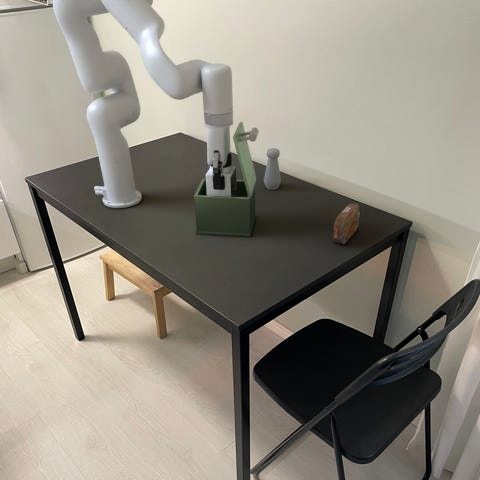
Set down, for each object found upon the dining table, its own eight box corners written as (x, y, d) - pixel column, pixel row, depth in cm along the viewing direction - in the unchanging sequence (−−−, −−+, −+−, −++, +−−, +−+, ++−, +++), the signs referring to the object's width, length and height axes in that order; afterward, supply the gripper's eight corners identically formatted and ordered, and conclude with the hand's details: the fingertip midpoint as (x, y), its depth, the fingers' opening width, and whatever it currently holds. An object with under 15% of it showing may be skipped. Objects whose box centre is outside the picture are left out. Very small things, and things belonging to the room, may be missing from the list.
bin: (196, 234, 141) (193, 196, 133) (205, 214, 150) (202, 178, 143) (250, 237, 139) (249, 198, 132) (255, 217, 148) (255, 180, 141)
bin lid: (232, 137, 122) (252, 133, 120) (239, 122, 131) (258, 117, 130) (248, 197, 131) (267, 193, 130) (253, 179, 141) (271, 175, 139)
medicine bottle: (231, 200, 135) (230, 158, 128) (206, 198, 136) (204, 156, 129) (236, 189, 141) (235, 148, 133) (213, 188, 142) (210, 147, 134)
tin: (340, 249, 133) (343, 221, 127) (329, 246, 134) (332, 218, 129) (360, 226, 143) (364, 199, 137) (350, 223, 144) (353, 197, 139)
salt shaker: (261, 189, 164) (261, 151, 156) (266, 182, 168) (267, 145, 160) (277, 191, 162) (278, 153, 154) (282, 185, 166) (284, 147, 158)
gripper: (210, 108, 132) (214, 170, 144) (197, 128, 119) (202, 196, 130) (237, 108, 131) (239, 171, 143) (227, 129, 118) (229, 197, 129)
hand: (221, 182), depth 136 cm, fingers closed on medicine bottle, 7 cm apart
